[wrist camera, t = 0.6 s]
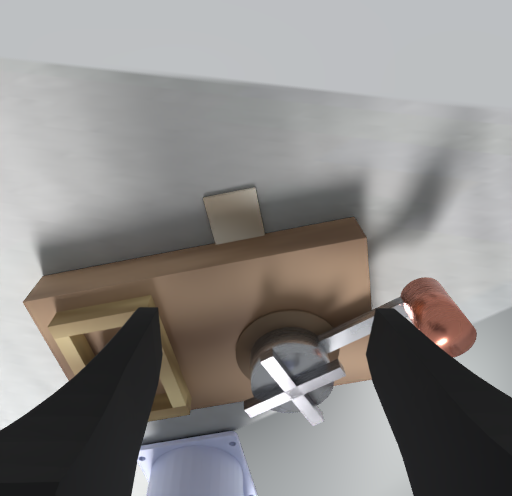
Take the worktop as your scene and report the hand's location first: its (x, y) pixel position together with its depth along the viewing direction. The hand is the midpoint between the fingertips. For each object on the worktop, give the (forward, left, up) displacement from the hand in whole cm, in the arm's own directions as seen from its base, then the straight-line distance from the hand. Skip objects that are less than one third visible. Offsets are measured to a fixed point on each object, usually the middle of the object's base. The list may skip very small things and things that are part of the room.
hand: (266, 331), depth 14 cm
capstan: (-7, -3, -7) cm, 10 cm away
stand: (-5, +4, -10) cm, 11 cm away
